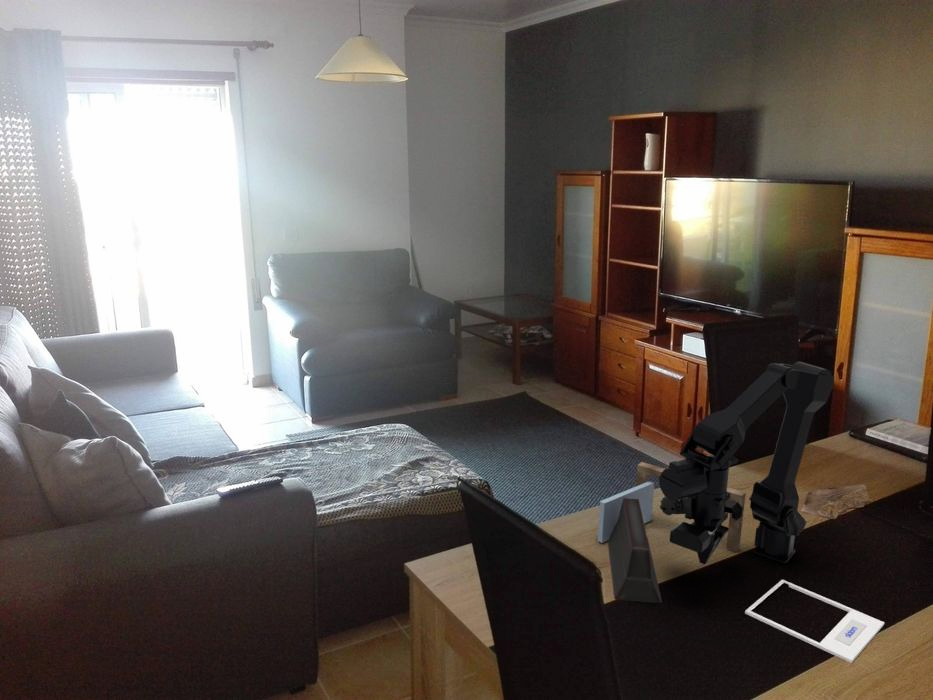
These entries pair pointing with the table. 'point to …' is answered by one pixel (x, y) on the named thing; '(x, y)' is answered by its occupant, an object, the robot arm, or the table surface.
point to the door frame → (735, 495)
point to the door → (613, 506)
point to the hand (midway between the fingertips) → (703, 562)
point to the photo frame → (844, 636)
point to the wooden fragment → (835, 500)
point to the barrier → (632, 557)
